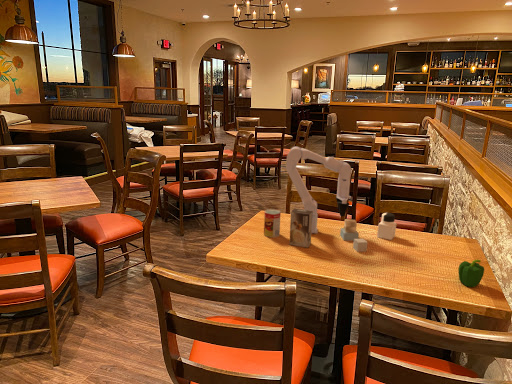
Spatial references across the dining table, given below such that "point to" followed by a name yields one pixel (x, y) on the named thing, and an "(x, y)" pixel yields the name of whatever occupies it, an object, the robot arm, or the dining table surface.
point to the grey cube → (360, 245)
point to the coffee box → (300, 227)
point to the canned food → (272, 223)
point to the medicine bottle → (387, 226)
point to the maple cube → (350, 226)
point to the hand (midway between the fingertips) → (341, 213)
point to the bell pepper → (470, 273)
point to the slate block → (348, 235)
